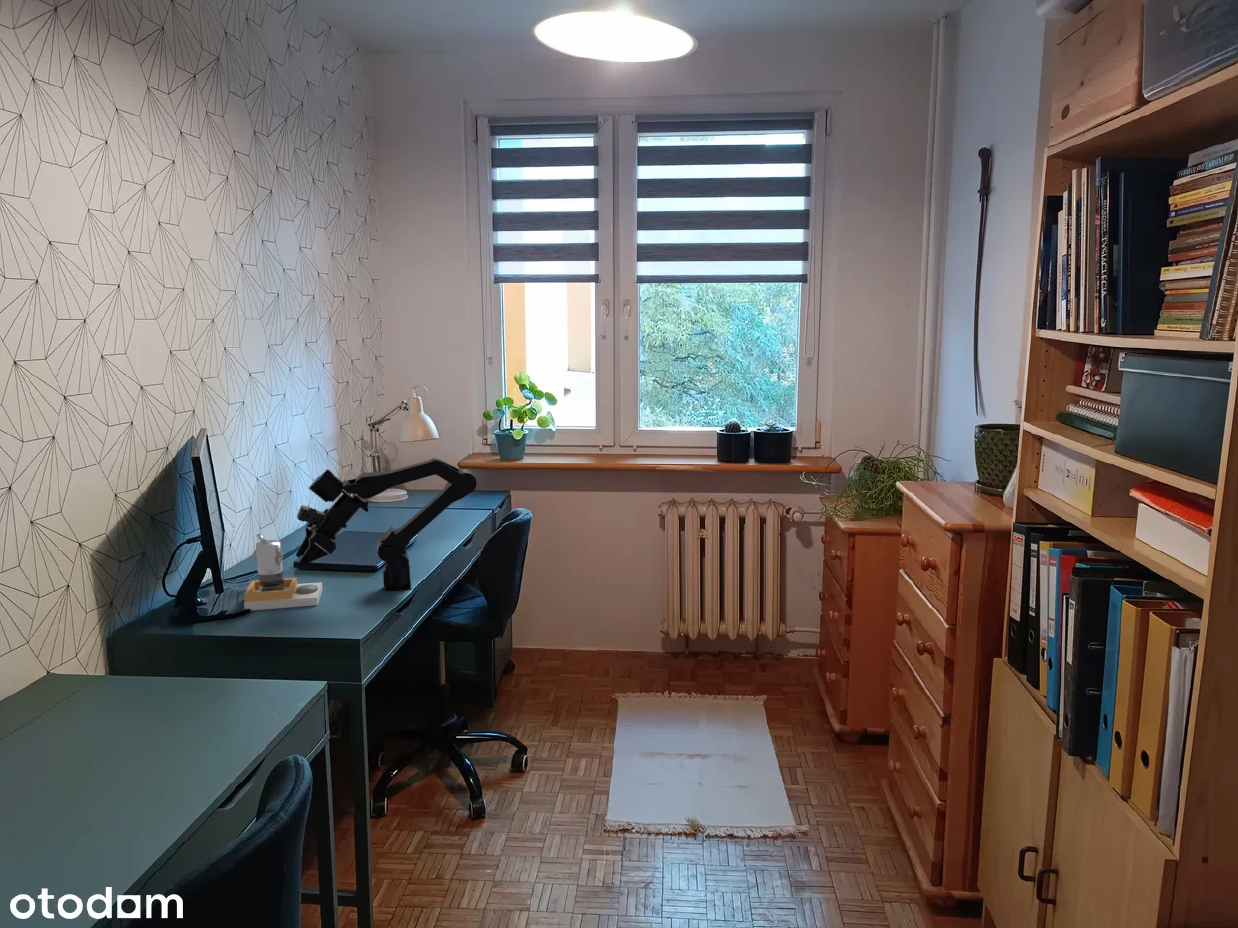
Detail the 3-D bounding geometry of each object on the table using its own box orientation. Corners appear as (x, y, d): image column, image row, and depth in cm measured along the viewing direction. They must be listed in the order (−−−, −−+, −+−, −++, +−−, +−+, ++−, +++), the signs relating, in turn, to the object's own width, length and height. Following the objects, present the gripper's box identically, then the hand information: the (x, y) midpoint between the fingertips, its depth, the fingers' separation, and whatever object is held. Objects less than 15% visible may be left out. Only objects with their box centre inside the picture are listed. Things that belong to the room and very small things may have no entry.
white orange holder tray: (322, 589, 234) (321, 574, 233) (317, 605, 221) (316, 589, 221) (253, 594, 230) (252, 579, 229) (244, 610, 217) (243, 595, 217)
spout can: (288, 589, 227) (284, 530, 225) (277, 596, 221) (273, 536, 219) (266, 588, 228) (262, 530, 225) (255, 596, 222) (250, 536, 219)
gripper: (312, 487, 234) (270, 533, 231) (318, 501, 217) (273, 550, 214) (345, 514, 238) (305, 558, 236) (354, 529, 221) (310, 577, 219)
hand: (298, 560), depth 226 cm, fingers open, 9 cm apart
